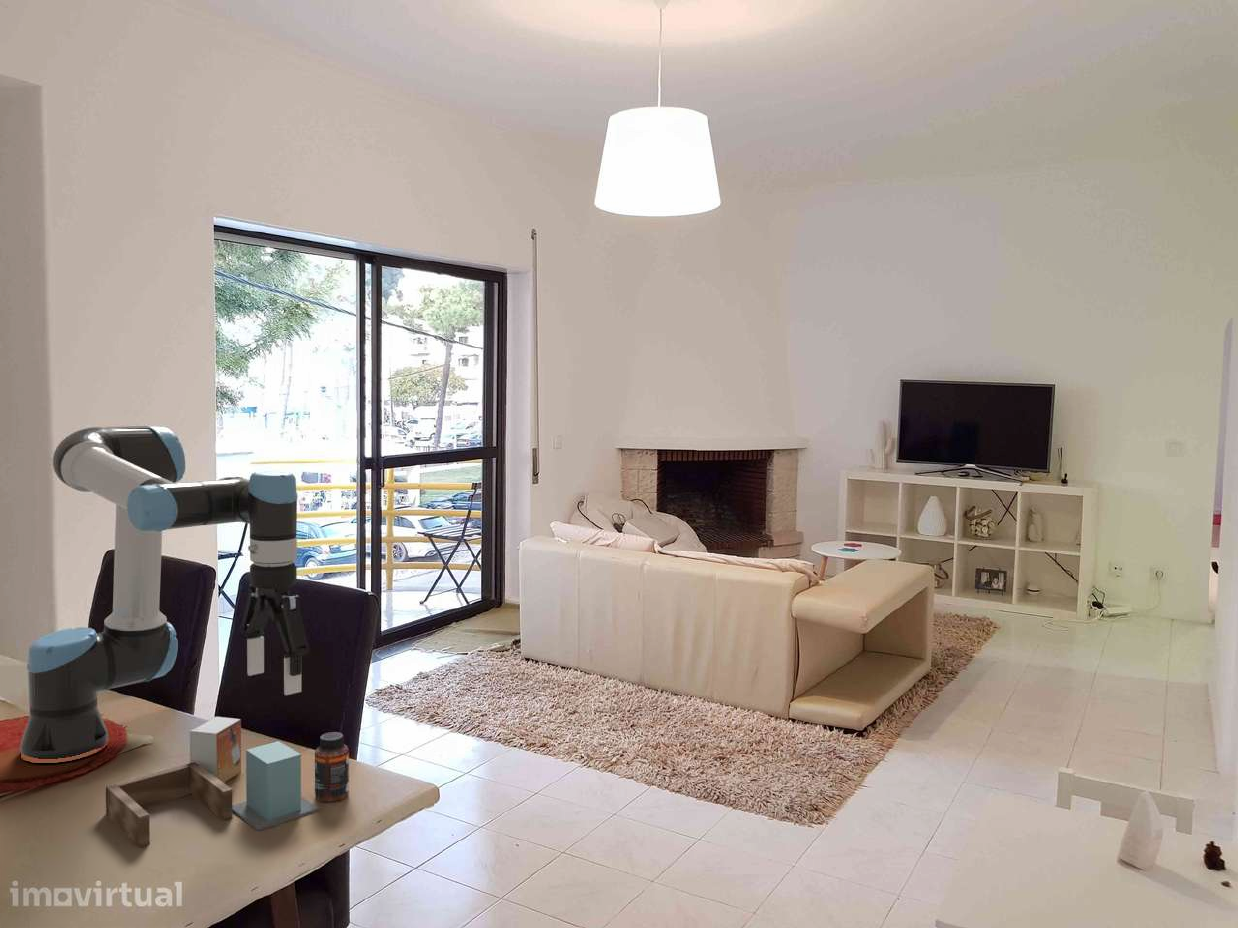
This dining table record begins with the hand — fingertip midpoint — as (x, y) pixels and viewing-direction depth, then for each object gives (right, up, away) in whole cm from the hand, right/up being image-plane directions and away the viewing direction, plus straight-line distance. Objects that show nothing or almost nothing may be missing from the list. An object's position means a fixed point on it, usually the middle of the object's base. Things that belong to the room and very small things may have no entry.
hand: (273, 683), depth 162 cm
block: (-1, -22, +2) cm, 22 cm away
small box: (-16, -21, +14) cm, 30 cm away
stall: (-17, -22, -1) cm, 28 cm away
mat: (-1, -23, +2) cm, 23 cm away
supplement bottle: (+8, -23, +8) cm, 25 cm away
